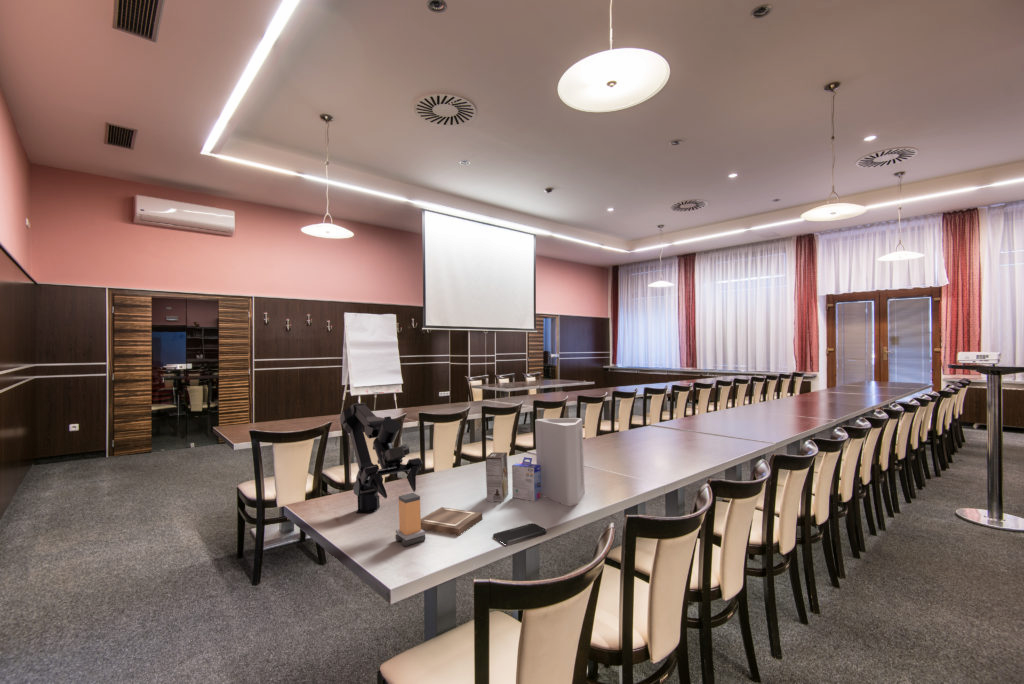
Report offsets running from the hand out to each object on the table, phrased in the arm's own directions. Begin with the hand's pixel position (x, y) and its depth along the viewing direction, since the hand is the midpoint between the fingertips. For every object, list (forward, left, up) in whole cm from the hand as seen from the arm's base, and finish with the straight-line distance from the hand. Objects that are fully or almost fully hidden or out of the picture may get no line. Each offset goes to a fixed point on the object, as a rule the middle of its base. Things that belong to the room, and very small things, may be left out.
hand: (400, 494), depth 137 cm
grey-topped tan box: (+4, -5, -12) cm, 14 cm away
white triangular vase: (+52, +35, -12) cm, 64 cm away
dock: (+13, +8, -12) cm, 20 cm away
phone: (+36, -1, -13) cm, 38 cm away
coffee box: (+26, +33, -12) cm, 44 cm away
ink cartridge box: (+37, +33, -12) cm, 51 cm away
